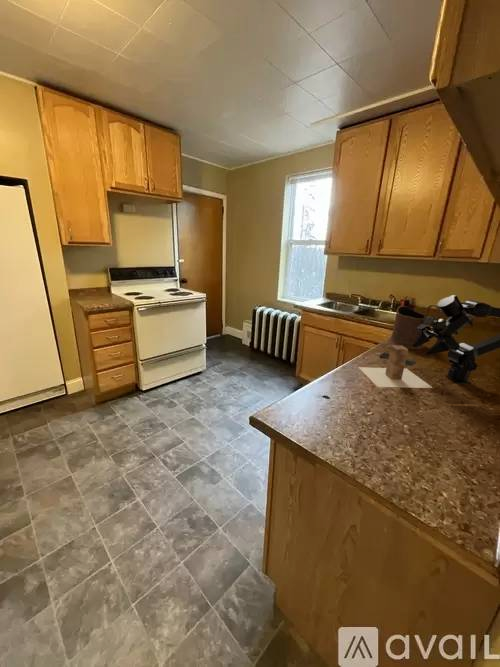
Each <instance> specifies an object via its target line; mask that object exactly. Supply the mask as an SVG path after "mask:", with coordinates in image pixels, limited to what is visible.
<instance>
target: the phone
mask: <svg viewBox="0 0 500 667" xmlns="http://www.w3.org/2000/svg"><path fill="white" fill-rule="evenodd" d="M389 354H390V353H388V352H384V353H382V354H379V356H378V357H380V358H379V359H382V358H383V360H388V359H389ZM416 363H417V361H415V360H412V359H408V358H406V362H405V365H406V366H410V367H411V366H413V365H415V364H416Z"/></svg>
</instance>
